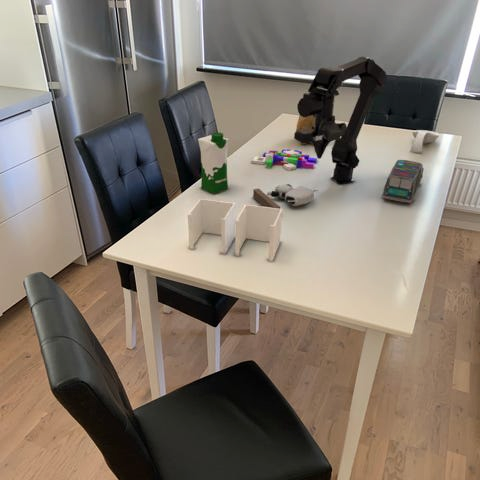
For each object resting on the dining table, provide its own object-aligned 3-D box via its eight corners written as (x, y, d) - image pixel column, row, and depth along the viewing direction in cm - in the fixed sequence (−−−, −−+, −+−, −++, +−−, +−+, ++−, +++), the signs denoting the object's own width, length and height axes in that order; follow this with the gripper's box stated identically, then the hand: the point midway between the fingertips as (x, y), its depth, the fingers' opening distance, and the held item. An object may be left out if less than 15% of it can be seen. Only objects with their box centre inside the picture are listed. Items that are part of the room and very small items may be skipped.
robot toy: (264, 201, 169) (297, 212, 160) (264, 189, 166) (298, 199, 158) (286, 191, 176) (319, 201, 167) (286, 179, 173) (320, 188, 165)
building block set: (319, 155, 204) (320, 144, 201) (311, 173, 188) (312, 161, 185) (262, 149, 209) (262, 138, 206) (249, 165, 194) (250, 154, 191)
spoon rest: (413, 135, 226) (417, 120, 221) (439, 139, 221) (443, 123, 217) (402, 151, 209) (406, 134, 205) (429, 155, 205) (434, 138, 200)
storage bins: (279, 242, 145) (282, 209, 138) (272, 260, 136) (274, 226, 130) (201, 231, 150) (200, 198, 143) (189, 248, 141) (187, 214, 135)
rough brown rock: (325, 153, 208) (333, 117, 198) (289, 145, 211) (295, 109, 202) (336, 139, 225) (344, 105, 216) (302, 131, 229) (308, 98, 219)
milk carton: (213, 195, 170) (212, 138, 158) (197, 188, 175) (194, 132, 163) (231, 189, 175) (231, 133, 163) (215, 181, 180) (213, 127, 168)
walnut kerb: (258, 197, 170) (258, 188, 168) (279, 216, 159) (280, 206, 157) (252, 198, 169) (253, 189, 167) (274, 217, 158) (274, 207, 156)
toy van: (421, 182, 182) (428, 156, 176) (410, 207, 165) (417, 179, 158) (393, 177, 186) (398, 151, 179) (379, 201, 168) (385, 174, 162)
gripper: (313, 121, 149) (308, 170, 158) (362, 114, 155) (354, 161, 165) (295, 112, 156) (291, 159, 166) (342, 105, 163) (336, 151, 173)
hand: (319, 158), depth 167 cm, fingers closed
